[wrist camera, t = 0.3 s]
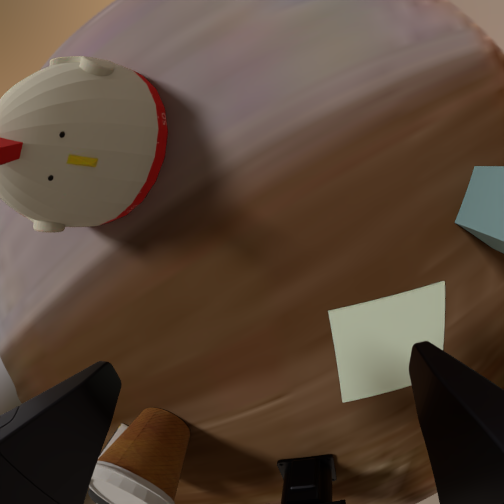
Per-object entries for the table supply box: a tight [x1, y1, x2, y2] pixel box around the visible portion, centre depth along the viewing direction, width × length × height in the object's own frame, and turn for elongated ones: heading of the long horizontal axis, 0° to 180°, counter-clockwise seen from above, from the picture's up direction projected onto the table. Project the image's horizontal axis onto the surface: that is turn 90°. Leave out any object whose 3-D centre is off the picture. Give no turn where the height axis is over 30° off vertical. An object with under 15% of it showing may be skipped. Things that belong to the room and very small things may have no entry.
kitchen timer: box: [0, 56, 168, 232], centre depth 14 cm, size 14×14×15 cm
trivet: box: [328, 281, 445, 402], centre depth 21 cm, size 10×10×1 cm
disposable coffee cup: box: [89, 408, 190, 504], centre depth 22 cm, size 10×10×12 cm
